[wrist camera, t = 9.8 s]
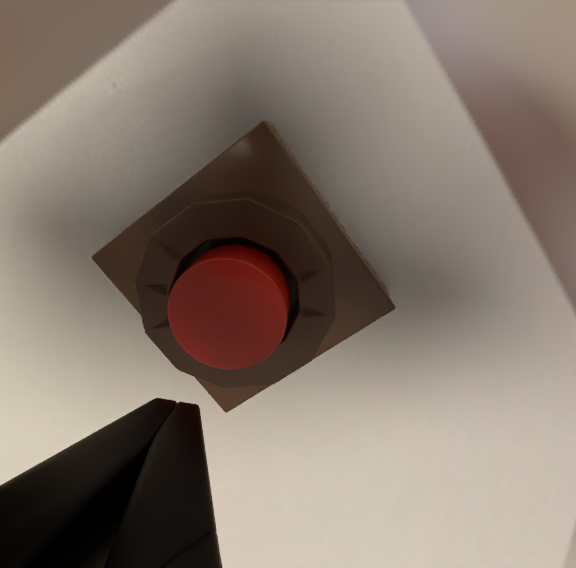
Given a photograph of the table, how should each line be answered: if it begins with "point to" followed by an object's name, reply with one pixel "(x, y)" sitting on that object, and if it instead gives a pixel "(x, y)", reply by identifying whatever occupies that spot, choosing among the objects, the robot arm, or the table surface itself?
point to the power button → (230, 307)
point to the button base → (257, 234)
